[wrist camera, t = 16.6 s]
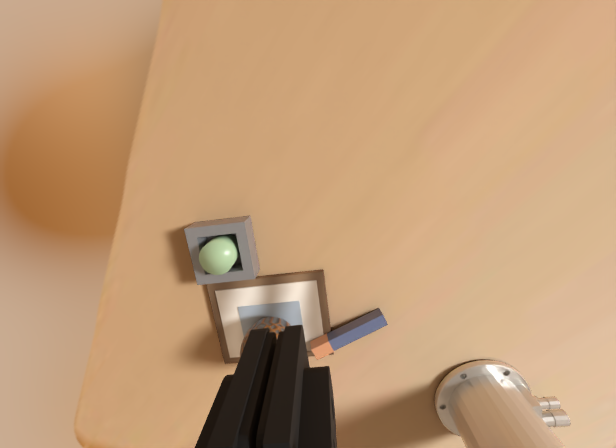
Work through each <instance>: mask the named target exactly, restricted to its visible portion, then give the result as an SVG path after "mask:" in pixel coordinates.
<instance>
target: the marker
mask: <svg viewBox="0 0 616 448" xmlns="http://www.w3.org/2000/svg"><path fill="white" fill-rule="evenodd" d="M386 325H388V324H387V322H386V320H385V318H384V316H383V314H382V312H381V311H380V309H379V308H378V309H376V310H374V311H372V312H370V313H368V314H366V315H364V316H362V317H360V318H358V319H356V320H354V321H352V322H350V323H348V324H346V325H344V326H342V327H339V328H337V329H335V330H333V331H331V332H329V333H326V334H324V335H322V336H320V337H318V338H316V339H314V340H312V341H310V344H311V350H312V352H313V354H314V355H315V357H316V359H317V360H318V359H320V358H322V357H324V356H326V355H328V354H330V353H333V352H334V351H335V350H337V349H339V348H341V347H343V346H345V345H347V344H349V343H351V342H353V341H355V340H357V339H359V338H361V337H363V336H366V335H368V334H370V333H372V332H374V331H376V330H378V329H380V328H382V327H384V326H386Z"/></svg>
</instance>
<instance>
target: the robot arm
mask: <svg viewBox="0 0 616 448" xmlns="http://www.w3.org/2000/svg"><path fill="white" fill-rule="evenodd" d="M435 408H436V412H437V414H438V416H439V419H440V420H441V422H442V423H443V425H444V426H445V427H446V428H447V429H448V430H450V431H451V432H453V433H454V434H456V435H458V436H460V437H461V438H462V440H463V442H464V444H465V446H466V448H566V447H565V446H564V445H563V444H562V442H561V441H560V440H559V439H558V438H557V436H556V435H555V434H554V433H553V431H552V430H551V429H550V428H549V427H567V426H570V424H571V423H570V419H569V417H568V415H567V413H566V412H565V411H564V410H563V409H560V403H559V400H558V399H557V398H556V397H543V398H537V397H536V396H533V395H532V394H531V389H530V387H529V384H528V383H527V381H526V380H525V378H524V377H523V376H522V375H521V374H520V373H519V372H518V371H517V370H516V369H514V368H513V367H512V366H510V365H507V364H505V363H503V362H499V361H493V360H479V361H473V362H469V363H466V364H464V365H461V366H459V367H457V368H456V369H454V370H453V371H451V372H450V373H449V374H448V375H447V376H445V378H444V379H443V380H442V381H441V383H440V384H439V386H438V388H437V390H436V394H435ZM542 409H553V410H546V411H542ZM195 448H337V441H336V424H335V409H334V398H333V389H332V382H331V375H330V368H329V366H325V367H314V368H310V367H309V361H308V355H307V348H306V342H305V336H304V329H303V325H293V326H286V327H285V330H284V331H280V332H279V334H278V339H277V337H276V333H275V332H270V330H269V328H262V329H252V330H251V331H250V333H249V336H248V339H247V341H246V344H245V347H244V349H243V352H242V355H241V357H240V360H239V362H238V365H237V368H236V370H235V373H234V374H233V375H227V376H225V377H224V379H223V381H222V383H221V386H220V388H219V391H218V393H217V395H216V398H215V400H214V403H213V405H212V407H211V410H210V412H209V415H208V417H207V420H206V422H205V424H204V427H203V429H202V432H201V434H200V436H199V439H198V441H197V444H196V446H195Z"/></svg>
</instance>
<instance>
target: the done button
mask: <svg viewBox="0 0 616 448" xmlns="http://www.w3.org/2000/svg"><path fill="white" fill-rule="evenodd" d="M239 256H240V252H239V247H238V241H237V238H236V237H235V236H234V235H232V234H224V235H217V236H215V237H214V238H213V239H212V240H211V241H210V242H208V243H207V244H206V245H205V246H204V247H203V248H202V249H201V251H200V253H199V262H200V264H201V266H202V268H203V269H204V270H205V271H207V272H208V273H210V274H213V275H222V274H224V273H226V272H228V271H229V270H230V268H231V267H232V266H233V264H234V263H235V261H236V260H237V259H238V257H239Z"/></svg>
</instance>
